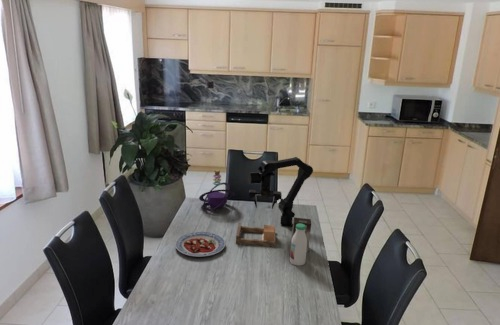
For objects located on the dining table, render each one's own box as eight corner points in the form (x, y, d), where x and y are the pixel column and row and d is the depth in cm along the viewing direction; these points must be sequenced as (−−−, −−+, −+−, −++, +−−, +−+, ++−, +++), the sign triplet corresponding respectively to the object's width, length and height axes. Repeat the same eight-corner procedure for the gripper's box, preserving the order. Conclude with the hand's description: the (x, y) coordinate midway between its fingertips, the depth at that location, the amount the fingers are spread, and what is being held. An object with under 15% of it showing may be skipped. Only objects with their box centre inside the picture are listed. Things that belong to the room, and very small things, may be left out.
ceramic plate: (180, 263, 183) (180, 258, 182) (171, 238, 206) (171, 233, 205) (231, 255, 192) (231, 250, 191) (217, 232, 215) (217, 227, 214)
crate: (274, 235, 215) (274, 225, 213) (274, 242, 207) (274, 232, 205) (263, 234, 215) (264, 224, 213) (263, 241, 207) (263, 231, 205)
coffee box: (290, 250, 200) (293, 222, 195) (290, 244, 206) (293, 217, 201) (308, 251, 199) (311, 223, 195) (308, 246, 205) (310, 218, 201)
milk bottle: (306, 259, 192) (310, 223, 186) (303, 267, 185) (307, 230, 179) (291, 256, 194) (294, 220, 188) (287, 264, 187) (291, 226, 181)
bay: (274, 232, 218) (275, 225, 217) (275, 246, 203) (275, 238, 202) (238, 229, 219) (238, 222, 218) (235, 243, 204) (236, 235, 203)
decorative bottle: (229, 200, 262) (230, 165, 255) (237, 212, 242) (238, 175, 235) (196, 202, 255) (197, 166, 248) (202, 215, 236) (202, 176, 229)
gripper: (248, 186, 209) (247, 212, 214) (282, 188, 208) (280, 215, 213) (249, 179, 220) (248, 204, 224) (282, 182, 219) (280, 207, 224)
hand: (264, 208), depth 221 cm, fingers open, 9 cm apart
